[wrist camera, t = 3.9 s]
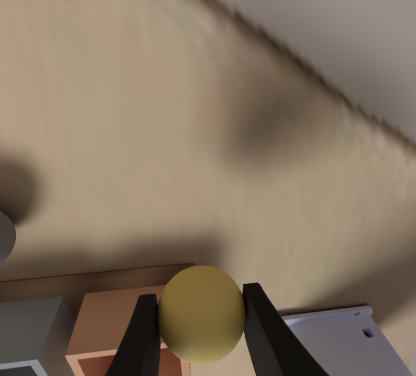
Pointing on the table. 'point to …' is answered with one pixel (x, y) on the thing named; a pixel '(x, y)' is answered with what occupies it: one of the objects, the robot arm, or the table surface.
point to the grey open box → (35, 337)
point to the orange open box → (112, 333)
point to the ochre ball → (201, 314)
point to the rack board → (87, 284)
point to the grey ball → (6, 236)
